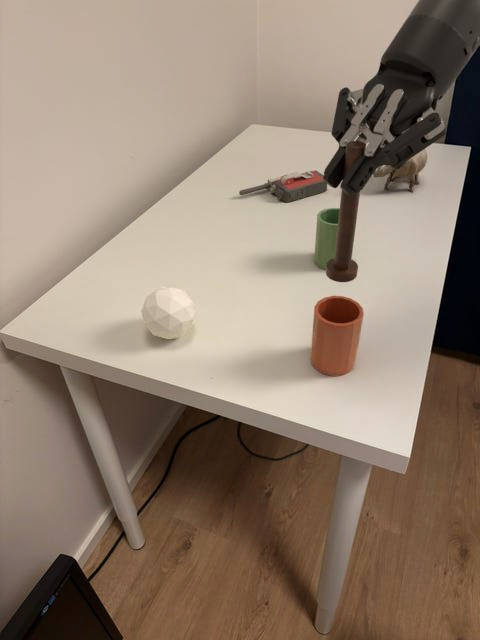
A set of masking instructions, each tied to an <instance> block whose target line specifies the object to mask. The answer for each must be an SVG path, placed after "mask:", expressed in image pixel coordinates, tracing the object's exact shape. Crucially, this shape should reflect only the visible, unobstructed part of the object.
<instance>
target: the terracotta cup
mask: <svg viewBox="0 0 480 640" xmlns="http://www.w3.org/2000/svg"><path fill="white" fill-rule="evenodd" d="M364 314H365V313H364V308H363V307H362V306H361V304H360V303H359V302H357V300H354V299H352V298H350V297H346V296H343V295H331V296H325V297H323V298H321V299H320V300H317V302H316V304H315V305H314V307H313V318H312V319H313V320H312V333H311V343H310V364H311V365H312V367H313V368H314V369H315V370H317V372H319V373H321V374H323V375H327V376H330V377H331V376H332V377H341V376H344V375H346V374H347V375H348V373H350V372H351V371H352V370H353V369H354V368H355V366H356V361H357V357H358V350H359V345H360V339H361V333H362V326H363V320H364Z"/></svg>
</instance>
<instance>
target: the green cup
mask: <svg viewBox="0 0 480 640" xmlns="http://www.w3.org/2000/svg"><path fill="white" fill-rule="evenodd" d="M339 210H340V207H329V208H324V209H322V210H320V211H319V212H318V213H317V214H316V228H315V239H314V240H315V241H314V254H313V255H314V256H313V258H314V259H313V262H314V264H315V266H317V267H318V268H319V269H322V270H325V271H326V264H327V262H328V261H329V260H330V259H333V258H335V249H336V240H337V230H338V220H339Z"/></svg>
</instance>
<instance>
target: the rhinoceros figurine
mask: <svg viewBox="0 0 480 640" xmlns="http://www.w3.org/2000/svg"><path fill="white" fill-rule="evenodd" d="M400 151H401V150H400ZM397 153H398V152H397ZM427 162H428V152H427V150H426V148H425V149H424V150H422V151H421V152H419V153H418V154H416V155H415V156H413V157H412V158H410V159H409V160H408V161H406V162H405V163H403V164H402V165H400V166H399V167H397V168H392V167H391V166H390V165H383V166H382V167H380V168H377V169H376V170H375V172H374V173H373V175H372V176H373V178H385V177H386V176H388V177H387V178H386V180H385V183H384V187H383V189H384V191H387V192H388V191H390V189H389V186H390V184H391V183H401V182H405V181H407V180H408V181H409V185H408V191H409V192H412V193H414V192H415V186H419V185H421V182H420V179H419V173H420V172H421V171H423V170H424V168H426V165H427Z"/></svg>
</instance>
